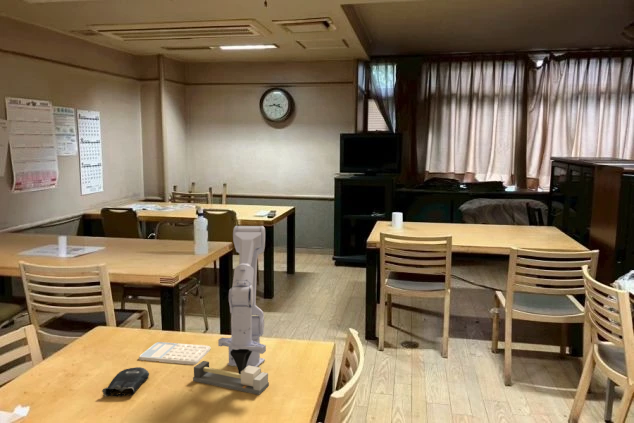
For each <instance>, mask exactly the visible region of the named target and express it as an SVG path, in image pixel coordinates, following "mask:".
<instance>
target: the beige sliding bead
mask: <svg viewBox="0 0 634 423" xmlns="http://www.w3.org/2000/svg"><path fill="white" fill-rule="evenodd" d="M261 372H262V371H261V367H259V366H258V367H254V366H249V365H248V366H247V367H246V368H245V369H243V370H242V371H241V384H242V385H247V386H252V387H253V379H254V378H255V377H257V376H258V375H259V374H260V373H261Z"/></svg>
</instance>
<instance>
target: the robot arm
mask: <svg viewBox="0 0 634 423" xmlns="http://www.w3.org/2000/svg"><path fill="white" fill-rule="evenodd" d="M232 240H233V244H234V245H233V246H234V248H235V252H236V253H238V255H239V256H238V258H239V259H238V265H236V267H234V272H233V278H232V279H233V280H232V287H231V288H230V289H229V290H228V303H229V312H230V315H231V316H230V317H231V319H230V320H231V321H230V324H231V326H230V327H231V328H230V329H231V336H230V337H220V338H219V339H218V340H217V341H218V342H217V343H218V344H217V345H218V347H228V362H227V365H228V366H230V367H231V366H232V367H236V368H237V373H239V374H241V371H242V370H243V369H245V368H246V367H247V366H248V365H249V366H254V367H259V366H260V365H261V364H262V363H264V362H265V361H266V359H265V358H261V357H260V354H261V355H263V354H264V353H266V350H267V348H266V347H267V345H266V344H263V343H261V342H260V339H261V338H260V337H262V336H263V335H264V332H265V314H264V311H263V310H262V309H261V308H260V307H258V305H257V303H256V299H257V298H256V297H257V276H258V275H257V271H258V259H259V255H261V254H262V253H264V252H265V247H266V228H265V227H264V225H260V226H259V225H258V226H257V225H255V226H254V225H253V226H252V225H251V226H250V225H248V226H247V225H246V226H245V225H244V226H243V225H235V226H234V227H233V232H232Z"/></svg>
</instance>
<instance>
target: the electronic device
mask: <svg viewBox="0 0 634 423" xmlns="http://www.w3.org/2000/svg"><path fill="white" fill-rule="evenodd" d="M149 376H150V373H149V371H148V369H146V368H144V367H141V366H136V367H129V368H126V369H123V370H120V371H119V372H118V373H116V375H115V376H114V377H113V378H112V380H111V381H110V383H109V384H108V386H107V387H104V388H103V389H102V390H101V392H102V394H103V396H104V397H105V398H106V397H117V398H118V397H125V396H126V397H132V396H133V395H134V394H135V393H136V391H137V390H138V389H139V388H140V386H142V384H143V383H144V382H146V381H147V380H148V379H149ZM114 389H115V390H118V392H119V393H114V394H112V393H113V391H114ZM129 389H131V390H130V392H131V393H130V392H128V391H127V392H124V391H125V390H129Z"/></svg>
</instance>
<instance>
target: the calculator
mask: <svg viewBox="0 0 634 423" xmlns="http://www.w3.org/2000/svg"><path fill="white" fill-rule="evenodd" d="M210 351H211V346H210V345H207V344H205V345H204V344H191V343H180V342H179V343H178V342H177V343H176V342H168V341H167V342H166V341H157V342H155V343H154V344H152V345H151V346H149V348H147V349H145V351H143V352H142V353H141V354H140V355H139V356H138V360H140V361H144V360H146V362H156V361H159V363H169V364H171V363H172V364H178V365H179V364H181V365H182V364H183V365H195V366H196V365H198V364H199V363H200V361H201V360H202V359H203V358H204V357H205V356H206V355H207V354H208V353H210Z"/></svg>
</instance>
